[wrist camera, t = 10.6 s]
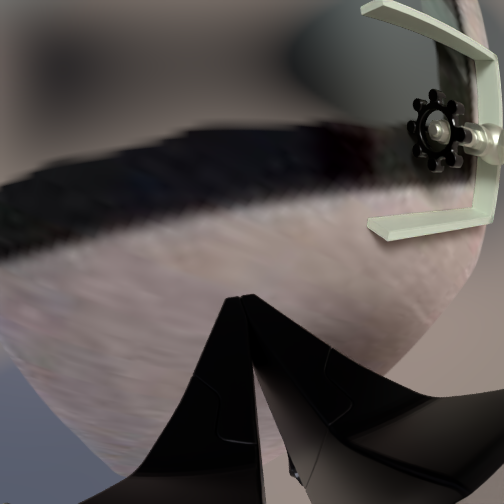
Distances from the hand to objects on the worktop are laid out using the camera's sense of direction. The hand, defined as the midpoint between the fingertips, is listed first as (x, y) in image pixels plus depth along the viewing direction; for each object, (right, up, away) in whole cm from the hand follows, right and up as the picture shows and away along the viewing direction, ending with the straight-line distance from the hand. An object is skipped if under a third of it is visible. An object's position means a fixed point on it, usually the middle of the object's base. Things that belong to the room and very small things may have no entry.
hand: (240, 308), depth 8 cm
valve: (+19, +13, +12) cm, 26 cm away
